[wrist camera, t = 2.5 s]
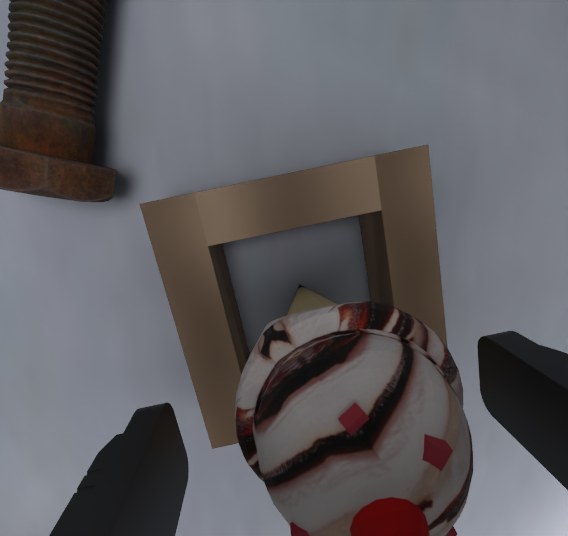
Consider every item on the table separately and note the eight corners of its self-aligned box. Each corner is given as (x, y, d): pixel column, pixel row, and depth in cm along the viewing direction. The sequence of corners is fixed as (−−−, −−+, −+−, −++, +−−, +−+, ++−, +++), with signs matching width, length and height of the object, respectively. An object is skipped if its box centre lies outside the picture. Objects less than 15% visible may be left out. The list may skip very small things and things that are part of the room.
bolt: (135, -125, 17) (100, 194, 19) (-2, -218, 14) (-21, 174, 16) (172, -231, 12) (118, 209, 15) (-25, -406, 9) (-46, 184, 12)
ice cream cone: (271, 218, 19) (302, 343, 4) (367, 255, 20) (676, 467, 5) (235, 313, 20) (162, 673, 5) (328, 344, 21) (485, 731, 6)
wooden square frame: (393, 152, 18) (428, 144, 14) (417, 357, 21) (452, 397, 17) (166, 199, 18) (139, 203, 14) (221, 399, 21) (212, 448, 17)
